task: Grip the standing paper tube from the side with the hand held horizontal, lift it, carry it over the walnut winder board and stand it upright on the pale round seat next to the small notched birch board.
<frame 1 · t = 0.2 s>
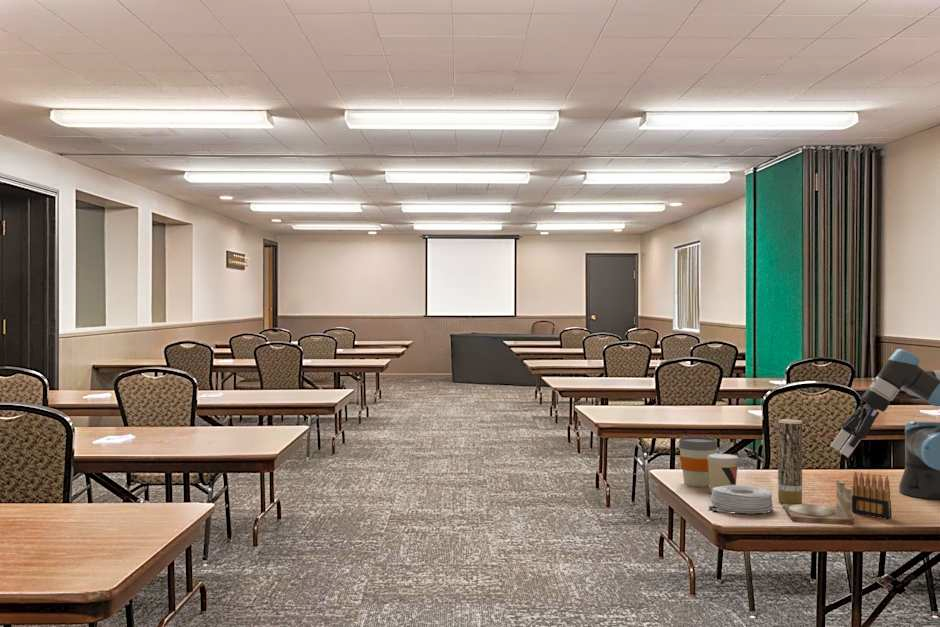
hand: (838, 451, 256), 15 cm above the table, tool tilted 35°, fingers open, 13 cm apart
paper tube: (790, 503, 251), on the table
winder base: (817, 515, 235), on the table
ammunition clip: (871, 516, 235), on the table
cable: (741, 509, 245), on the table
reusable coffee cup: (697, 484, 279), on the table
coffee cup: (722, 494, 264), on the table
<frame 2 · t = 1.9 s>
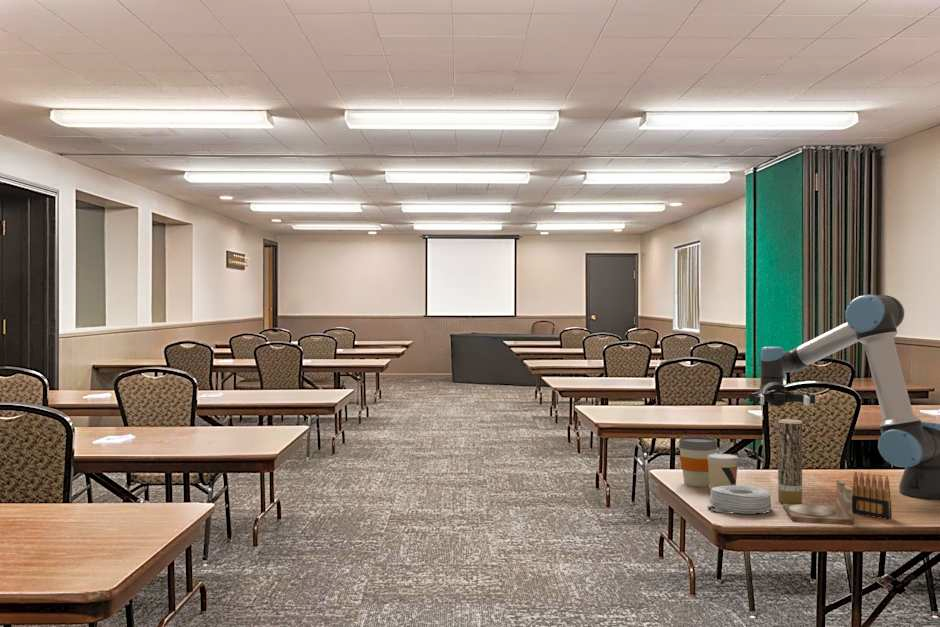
hand: (785, 401, 260), 30 cm above the table, tool horizontal, fingers open, 13 cm apart
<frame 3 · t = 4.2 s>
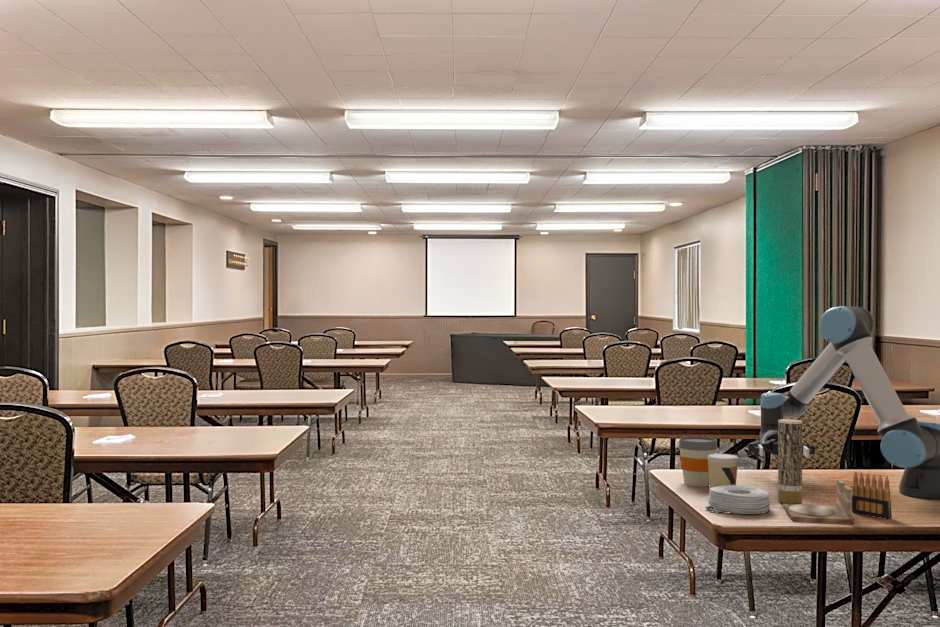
hand: (784, 452, 258), 14 cm above the table, tool horizontal, fingers open, 13 cm apart
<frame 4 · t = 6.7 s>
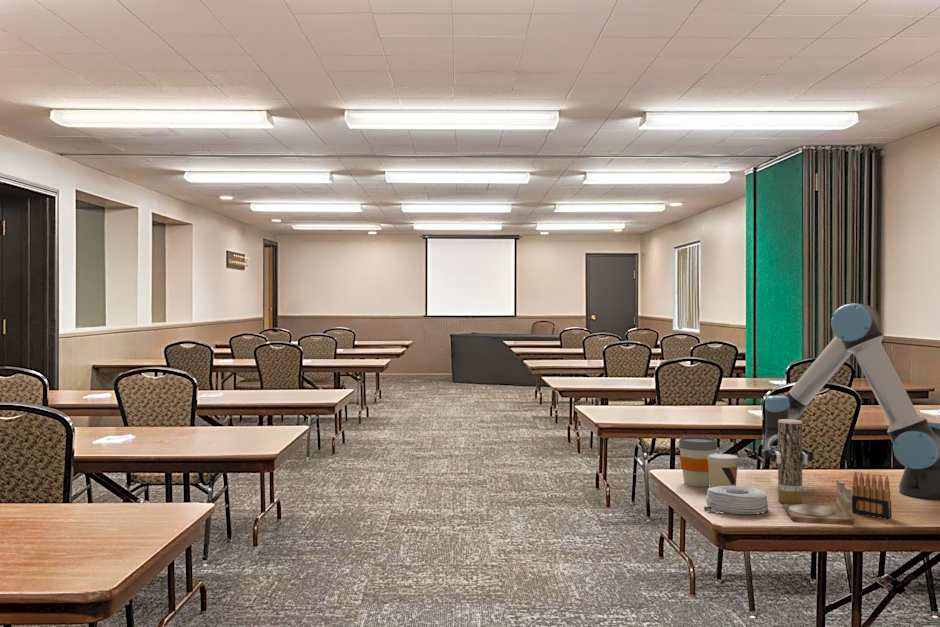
hand: (792, 459, 246), 14 cm above the table, tool horizontal, fingers closed on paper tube, 7 cm apart
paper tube: (790, 503, 251), on the table, touching gripper
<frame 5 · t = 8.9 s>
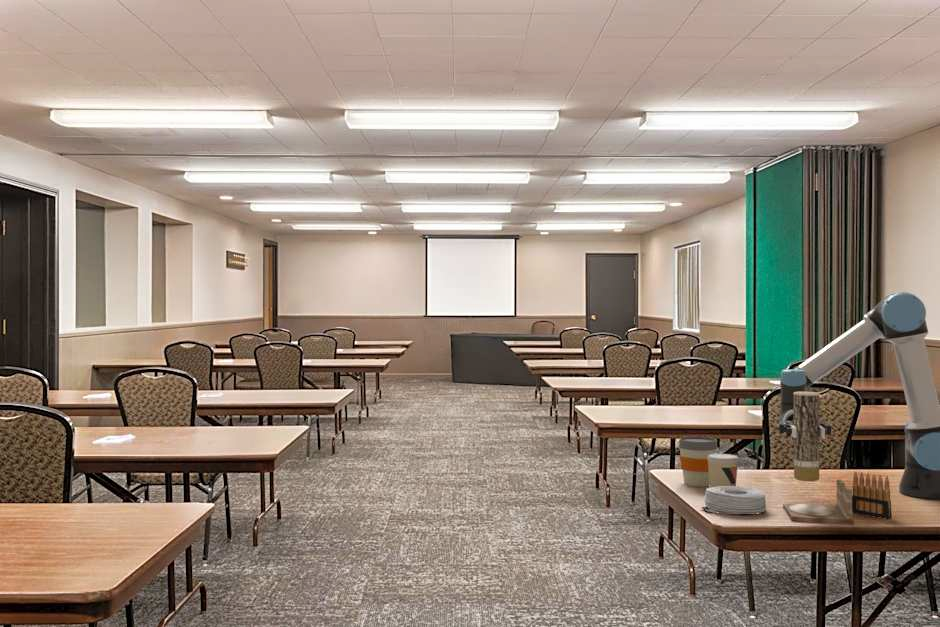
hand: (809, 433, 232), 24 cm above the table, tool horizontal, fingers closed on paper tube, 7 cm apart
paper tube: (806, 480, 237), point 10 cm above the table, touching gripper
when the fingers open (17 cm above the table, at t = 11.0 s): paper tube drops 1 cm, resting on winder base.
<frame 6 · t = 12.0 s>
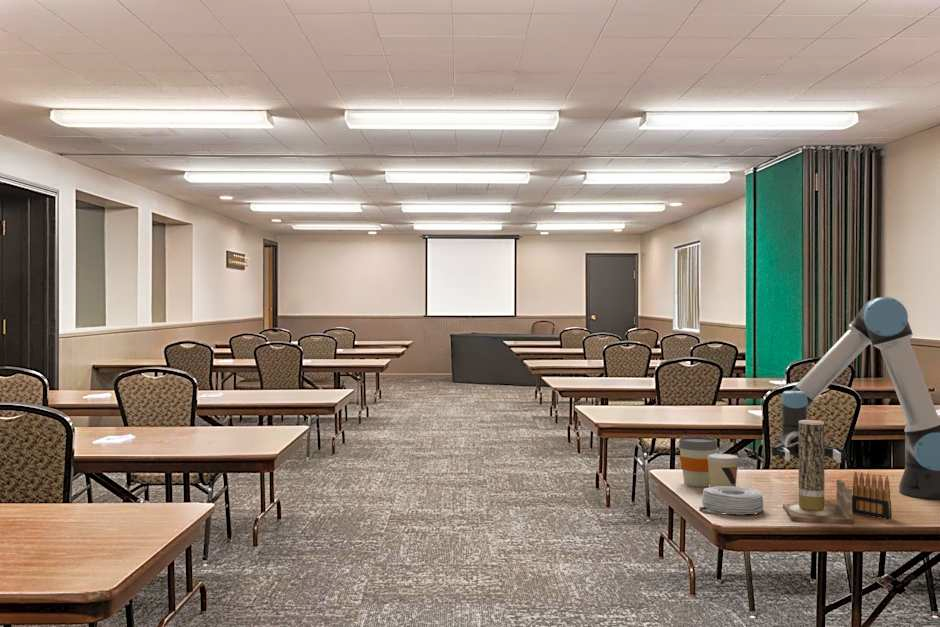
hand: (813, 457, 233), 17 cm above the table, tool horizontal, fingers open, 13 cm apart
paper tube: (811, 509, 236), point 2 cm above the table, touching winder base
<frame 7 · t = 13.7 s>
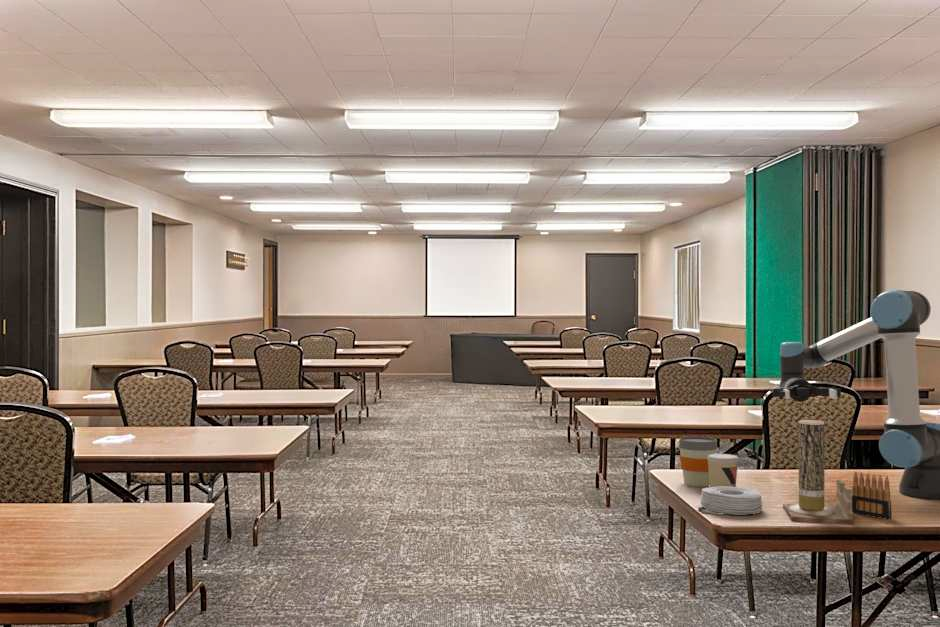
hand: (811, 394, 253), 33 cm above the table, tool horizontal, fingers open, 13 cm apart
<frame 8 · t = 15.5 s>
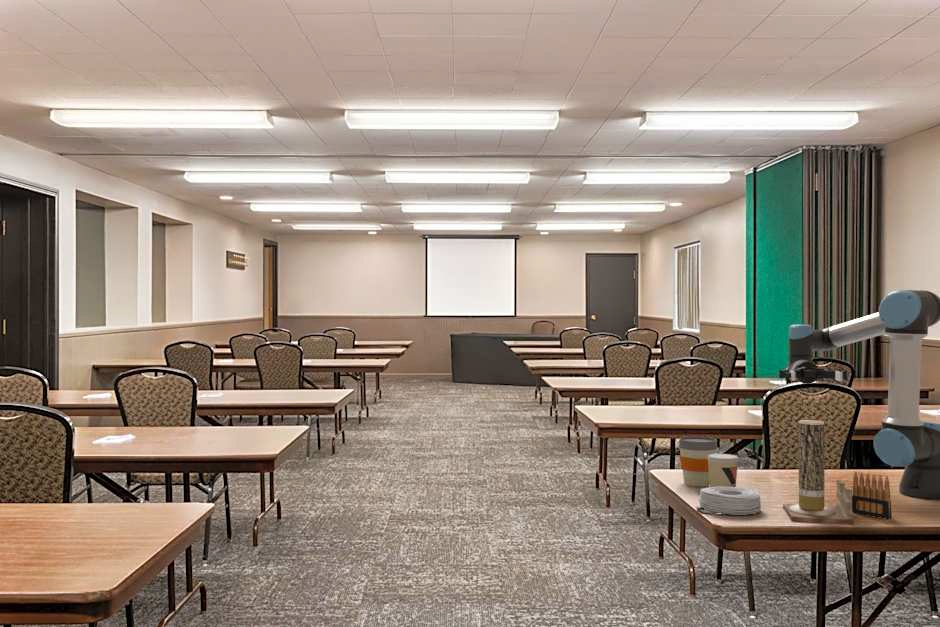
hand: (817, 376, 256), 38 cm above the table, tool horizontal, fingers open, 13 cm apart
at the end: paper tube inside the target area on the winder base (0.1 cm from its centre), point 1.6 cm above the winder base's base; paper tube tilted 0°; the gripper is holding nothing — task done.
